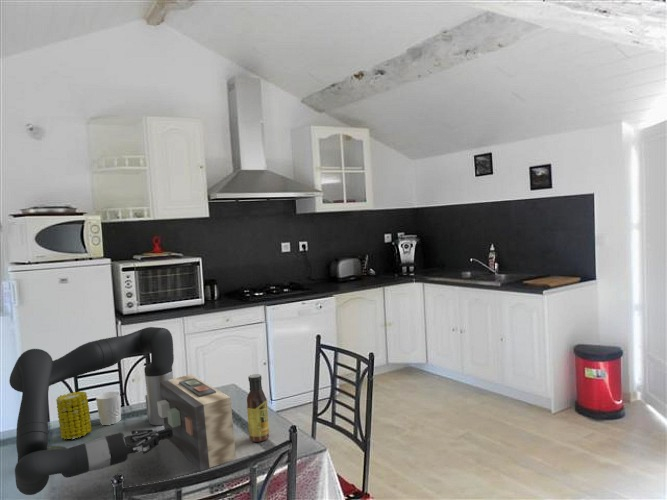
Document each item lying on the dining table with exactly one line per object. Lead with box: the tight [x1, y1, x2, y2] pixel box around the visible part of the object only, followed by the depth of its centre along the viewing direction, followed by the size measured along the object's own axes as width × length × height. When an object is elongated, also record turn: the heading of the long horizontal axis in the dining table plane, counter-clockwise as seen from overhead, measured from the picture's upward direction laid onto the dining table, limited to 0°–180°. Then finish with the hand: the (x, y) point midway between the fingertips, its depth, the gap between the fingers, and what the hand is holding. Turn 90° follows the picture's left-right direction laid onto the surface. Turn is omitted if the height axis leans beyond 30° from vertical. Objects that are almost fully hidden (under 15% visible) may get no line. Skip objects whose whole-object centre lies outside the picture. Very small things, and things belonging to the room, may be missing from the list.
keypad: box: [160, 374, 237, 472], centre depth 158 cm, size 10×32×19 cm, turn 35°
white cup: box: [95, 390, 122, 425], centre depth 185 cm, size 8×8×10 cm
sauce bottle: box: [246, 373, 270, 443], centre depth 161 cm, size 6×6×20 cm
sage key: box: [167, 408, 181, 427], centre depth 154 cm, size 2×4×4 cm, turn 35°
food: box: [55, 391, 92, 440], centre depth 175 cm, size 15×12×10 cm
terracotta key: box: [185, 416, 193, 436], centre depth 147 cm, size 2×4×4 cm, turn 35°
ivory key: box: [157, 400, 170, 418], centre depth 162 cm, size 2×4×4 cm, turn 35°
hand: (171, 432), depth 144 cm, fingers closed
